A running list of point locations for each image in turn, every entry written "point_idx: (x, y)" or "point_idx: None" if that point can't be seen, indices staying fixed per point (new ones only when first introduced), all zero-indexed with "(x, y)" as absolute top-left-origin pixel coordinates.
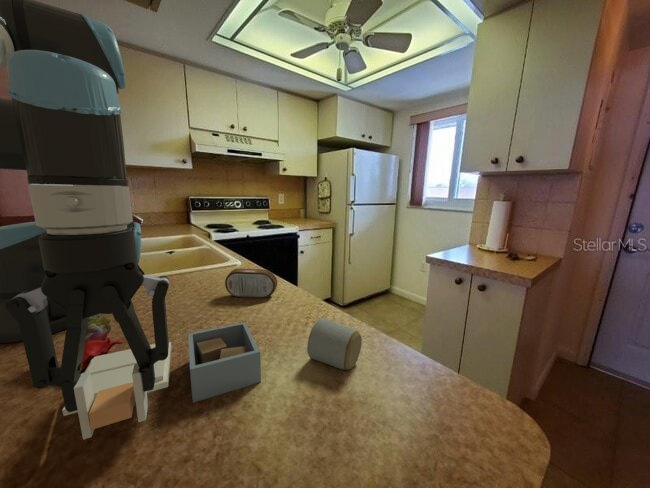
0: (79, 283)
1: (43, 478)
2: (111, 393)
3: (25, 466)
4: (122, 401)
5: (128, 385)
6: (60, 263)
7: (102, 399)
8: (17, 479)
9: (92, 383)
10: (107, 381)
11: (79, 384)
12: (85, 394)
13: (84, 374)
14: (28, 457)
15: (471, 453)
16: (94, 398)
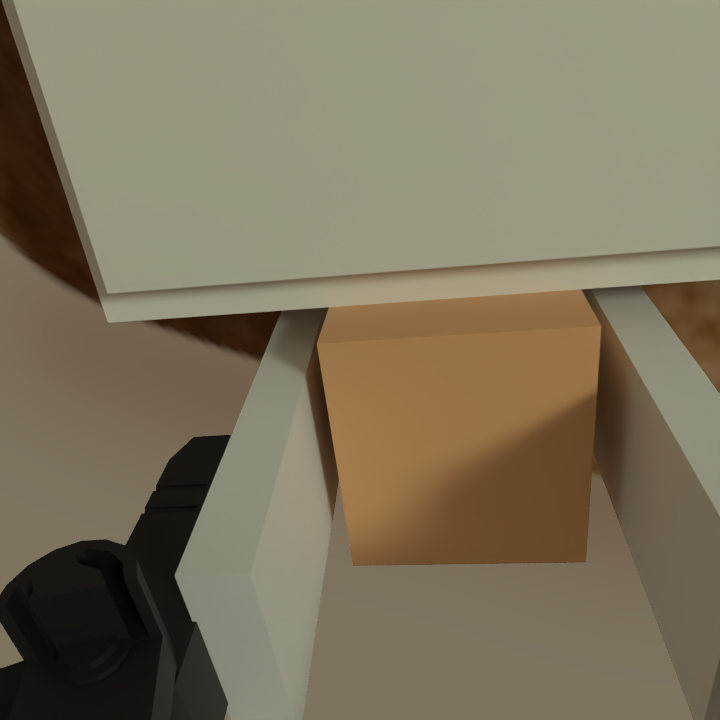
0: None
1: (181, 320)
2: (433, 416)
3: (59, 231)
4: (540, 543)
5: (553, 368)
6: None
7: (389, 464)
8: (78, 289)
9: (167, 88)
10: (308, 118)
11: (257, 708)
12: (309, 618)
13: (221, 609)
14: (30, 179)
15: None
16: (307, 379)
